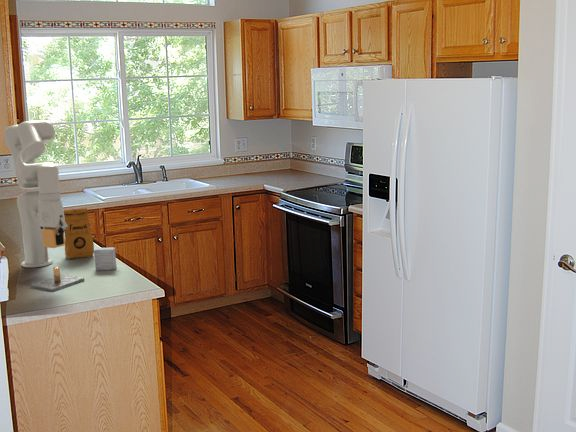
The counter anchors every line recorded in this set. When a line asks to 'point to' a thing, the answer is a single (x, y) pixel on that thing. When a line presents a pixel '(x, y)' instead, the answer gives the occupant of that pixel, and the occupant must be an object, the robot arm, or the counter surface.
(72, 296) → the counter surface
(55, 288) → the base
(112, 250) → the medicine box
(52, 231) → the light orange block
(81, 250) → the coffee package
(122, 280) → the counter surface
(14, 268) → the counter surface
